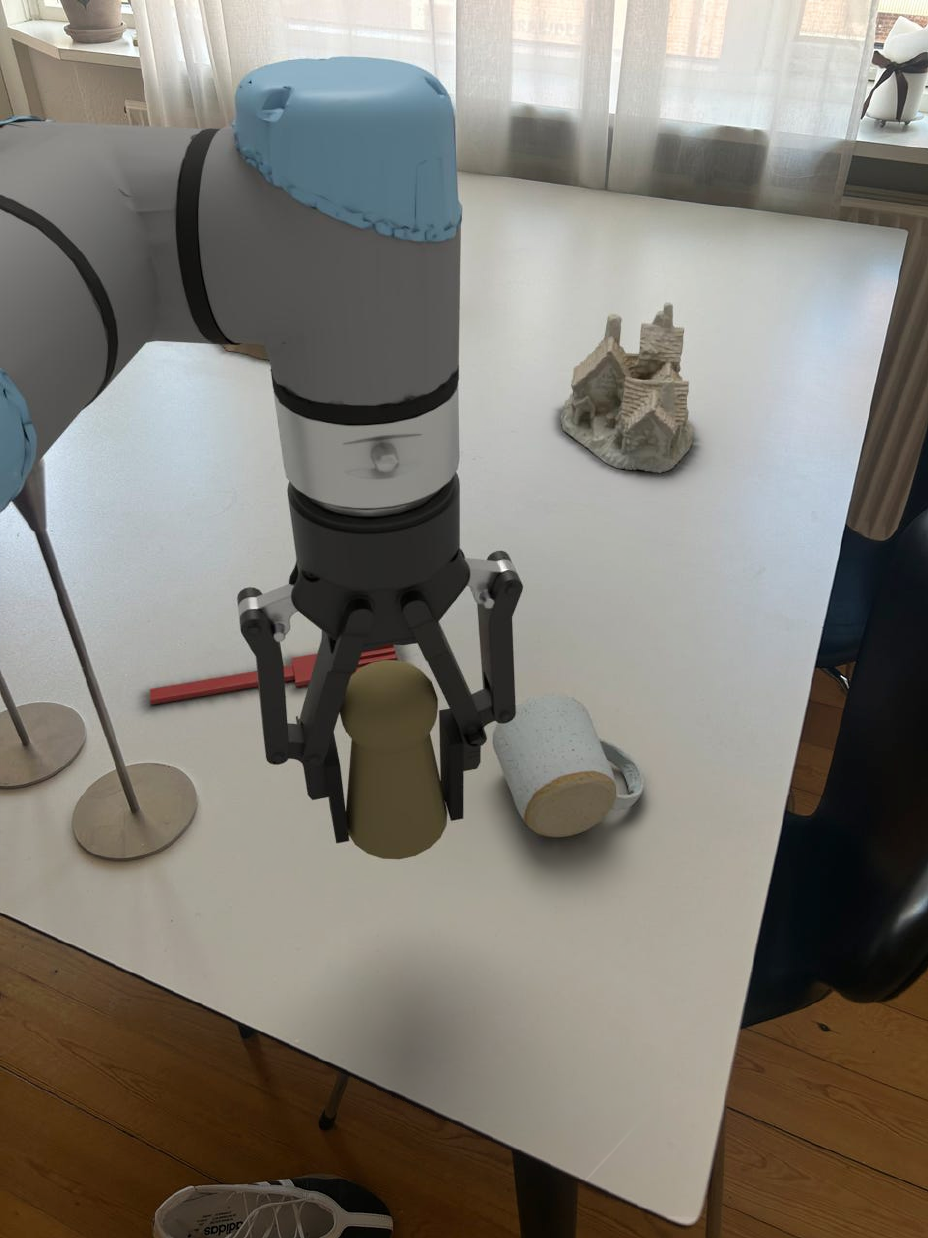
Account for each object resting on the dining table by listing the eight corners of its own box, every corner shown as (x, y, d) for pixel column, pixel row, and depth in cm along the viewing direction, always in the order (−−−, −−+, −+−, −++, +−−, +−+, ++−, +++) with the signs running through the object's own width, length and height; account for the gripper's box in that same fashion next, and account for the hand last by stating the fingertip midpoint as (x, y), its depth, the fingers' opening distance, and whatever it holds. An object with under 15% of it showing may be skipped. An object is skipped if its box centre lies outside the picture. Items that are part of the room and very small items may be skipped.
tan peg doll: (324, 814, 57) (304, 679, 50) (403, 762, 60) (395, 628, 53) (388, 878, 54) (377, 743, 47) (468, 820, 57) (469, 684, 50)
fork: (151, 712, 80) (149, 707, 80) (151, 686, 82) (149, 681, 82) (399, 669, 84) (399, 664, 83) (393, 645, 86) (392, 640, 86)
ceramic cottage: (573, 392, 123) (584, 279, 112) (702, 418, 118) (726, 303, 108) (536, 459, 112) (544, 340, 102) (675, 490, 108) (699, 369, 97)
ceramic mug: (522, 855, 69) (528, 784, 64) (489, 770, 75) (492, 699, 70) (659, 824, 71) (675, 752, 66) (616, 744, 77) (628, 673, 72)
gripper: (146, 553, 37) (236, 900, 52) (610, 490, 41) (570, 832, 56) (147, 456, 43) (228, 794, 58) (555, 408, 46) (532, 738, 61)
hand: (396, 812), depth 57 cm, fingers closed on tan peg doll, 6 cm apart
